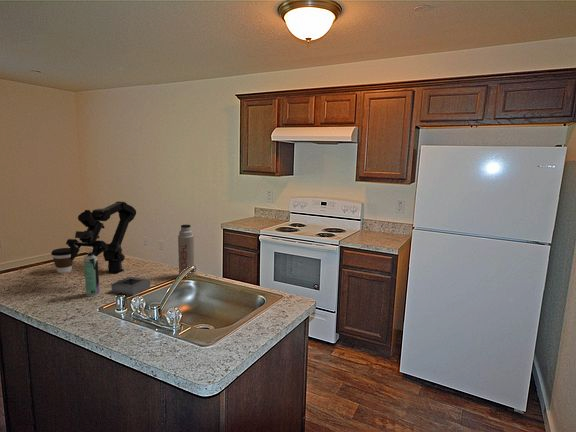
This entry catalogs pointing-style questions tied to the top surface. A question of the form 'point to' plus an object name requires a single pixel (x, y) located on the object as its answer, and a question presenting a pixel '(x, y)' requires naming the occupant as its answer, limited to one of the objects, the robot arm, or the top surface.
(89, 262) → the spray can
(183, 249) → the thermos bottle
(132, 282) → the collar
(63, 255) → the coffee cup
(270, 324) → the top surface
